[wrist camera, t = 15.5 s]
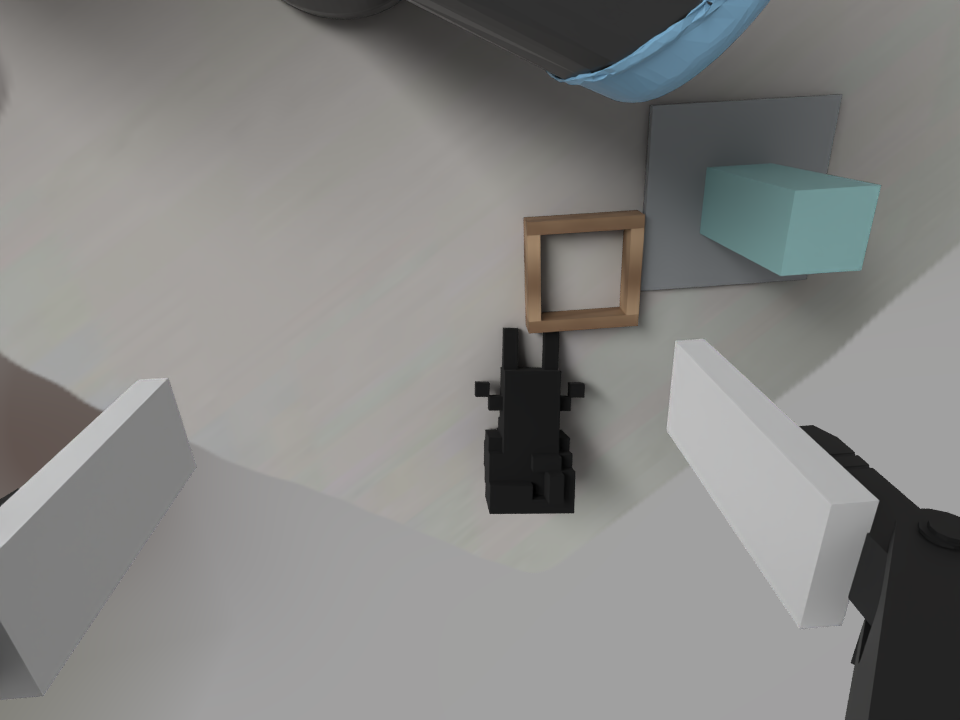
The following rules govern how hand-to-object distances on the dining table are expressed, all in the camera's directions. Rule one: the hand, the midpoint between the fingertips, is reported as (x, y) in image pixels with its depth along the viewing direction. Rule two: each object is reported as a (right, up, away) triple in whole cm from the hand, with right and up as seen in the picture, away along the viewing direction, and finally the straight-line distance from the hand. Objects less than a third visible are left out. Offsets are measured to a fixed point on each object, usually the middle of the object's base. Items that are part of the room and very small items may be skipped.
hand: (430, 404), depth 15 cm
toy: (+5, -3, +37) cm, 37 cm away
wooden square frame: (+9, +9, +32) cm, 34 cm away
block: (+21, +14, +29) cm, 39 cm away
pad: (+21, +14, +30) cm, 39 cm away
